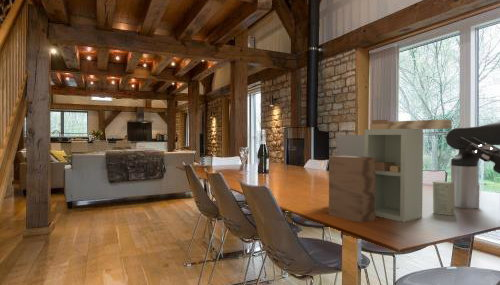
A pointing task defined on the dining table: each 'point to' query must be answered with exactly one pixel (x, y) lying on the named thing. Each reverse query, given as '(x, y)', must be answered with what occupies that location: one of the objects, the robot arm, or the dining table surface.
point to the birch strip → (420, 124)
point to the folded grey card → (350, 145)
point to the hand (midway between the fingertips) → (464, 139)
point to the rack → (396, 170)
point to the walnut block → (352, 187)
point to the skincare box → (443, 198)
